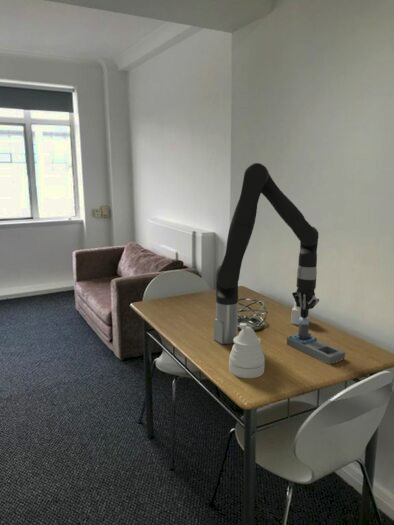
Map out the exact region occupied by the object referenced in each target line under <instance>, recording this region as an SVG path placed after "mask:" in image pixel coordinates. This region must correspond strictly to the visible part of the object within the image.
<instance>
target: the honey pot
mask: <svg viewBox="0 0 394 525" xmlns="http://www.w3.org/2000/svg"><path fill="white" fill-rule="evenodd" d="M239 328H240V329H241V330H240V331H239V333H238V334H237V336H236V337H235V338H234V339H233V341H234V343H233V345H232V348H231V351H230V354H229V356H228V357H229V358H228V359H229V360H228V370H229V372H230V374H232V375H234V376H235V377H239V378H244V379H255V378H258V377H260V376H263V374H264V372H265V360H266V359H265V355H264V351H263V348H262V346H261V343H262V340H261V338H260V337H258V336H257V333H256V332H255V330H254V329H253V328H252V327H250V326H247V323H245V322H240V323H239Z"/></svg>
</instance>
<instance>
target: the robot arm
mask: <svg viewBox="0 0 394 525" xmlns="http://www.w3.org/2000/svg"><path fill="white" fill-rule="evenodd" d="M243 173H244V174H243V180H242V186H241V191H240V195H239V198H238V201H237V203H236V206H235V210H234V212H233V215H232V218H231V220H230V224H229V228H228V234H227V239H226V247H225V249H226V250H225V254H224V257H223V259H222V260H223V261H222V262H221V264H220V265H219V266H218V267H217V270H216V275H215V276H216V279H215V280H216V281H215V288H216V290H215V306H216V307H215V318H214V319H213V340H214V341H216V342H217V343H218V344H221V345H224V344H225V345H226V344H227V345H230V344H234V341H233V339H234V338H235V337H236V336H238V322H239V319H238V318H239V280H240V275H241V269H242V264H243V259H244V257H245V256H244V255H245V253H246V250H247V249H248V246H249V242H250V240H251V237H252V234H253V230H254V227H255V223H256V218H257V211H258V203H259V199H260V197H261V194H262V195H263V196H264V197H265V198H266V200H267V201H268V202H269V203H270V204H271V206H272V207H273V210H275V212H276V213H277V214H278V216H279V217H280V219H282V220H283V221H284V223H285V224H287V226H288V227H289V228H290V229H291V231H292V232H293V233H294V235H295V236H296V238H297V239H298V240H299V241H300V242H299V247H300V249H299V253H298V262H297V263H298V265H297V272H296V291H295V292H294V291H293V292H292V293H291V294H292V297H293V298H294V301H296V304H297V306H300V308H301V317H302V318H307V317H308V310H309V311H310V310H312V309H314V307H316V305H317V304H318V303H319V301H320V299H319V298H317V297H316V293H315V290H316V286H317V276H318V275H317V274H318V271H317V262H318V252H317V251H318V245H319V236H320V235H319V231H318V229H317V228H316V227H315V226H312V225H311V224H310V223H309V221H307V220H306V218H305V216H304V214H303V213H302V212H301V210H299V208H298V207H297V206H296V205H295V204H294V202H292V200H291V199H289V198H288V197H287V195H286V194H284V192H283V191H282V190H281V189H280V187H278V185H277V184H276V183H275V181H274V179H273V178H272V176H271V174H270V173H269V169H267V167H266V166H265V165H263V164H261V163H260V162H259V163H258V162H253V163H251V164H249V165H248V166H247V167H246V169H245V171H244V172H243ZM298 300H299V301H298Z"/></svg>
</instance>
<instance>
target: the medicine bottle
mask: <svg viewBox="0 0 394 525" xmlns="http://www.w3.org/2000/svg"><path fill="white" fill-rule="evenodd" d="M298 301H299V300H298ZM290 315H291V317H290V325H296V326H299V318H300V317H301V308H300V306H297V304H296V301H295V300H294V305H293V307H292V309H291V314H290ZM307 318H309V319H310V309H309V310H308V317H307Z"/></svg>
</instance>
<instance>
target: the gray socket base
mask: <svg viewBox="0 0 394 525" xmlns="http://www.w3.org/2000/svg"><path fill="white" fill-rule="evenodd" d="M299 338H300V337H299V336H298V333H296V334H293V335H290V336H288V337H286V345H288V346H290V347H292V348H294V349H296V350H298V351H300V352H302V353H303V354H304V353H305V354H306V355H308V356H310V355H311V357H312V356H313V357H312V358H314V357H315V359H316V358H317V359H316V360H318V359H320V360H319V361H321V360H322V361H321V362H323V361H324V362H323V363H325V362H326V363H325V364H327V363H328V364H327V365H329V364H330V365H332V364H331V363H333V362H336V361H339V360H341V359H344V358H345V359H346V351H343V350H341V349H339V348H337V347H335V346H332V345H330V344H328V343H325V342H323V341H321V340H318V339H317V338H316V337H315V336H312V333H311V332H310V331H308V340H305V341H302V340H300V339H299ZM327 353H328V354H327ZM345 359H344V360H345ZM339 362H340V361H339ZM336 363H337V362H336ZM333 364H334V363H333Z"/></svg>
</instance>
